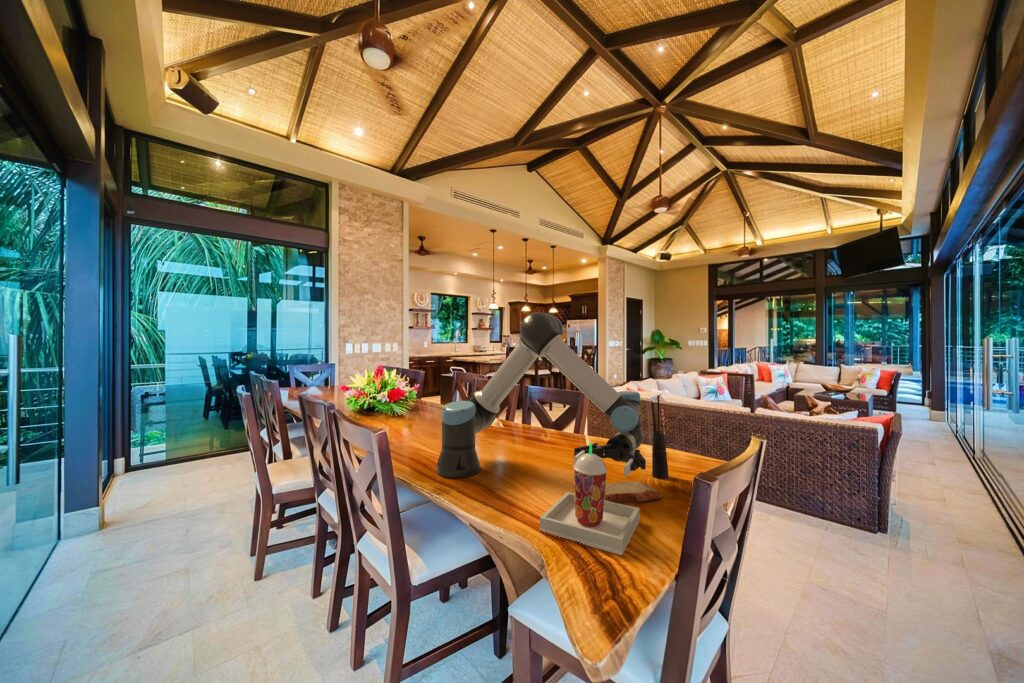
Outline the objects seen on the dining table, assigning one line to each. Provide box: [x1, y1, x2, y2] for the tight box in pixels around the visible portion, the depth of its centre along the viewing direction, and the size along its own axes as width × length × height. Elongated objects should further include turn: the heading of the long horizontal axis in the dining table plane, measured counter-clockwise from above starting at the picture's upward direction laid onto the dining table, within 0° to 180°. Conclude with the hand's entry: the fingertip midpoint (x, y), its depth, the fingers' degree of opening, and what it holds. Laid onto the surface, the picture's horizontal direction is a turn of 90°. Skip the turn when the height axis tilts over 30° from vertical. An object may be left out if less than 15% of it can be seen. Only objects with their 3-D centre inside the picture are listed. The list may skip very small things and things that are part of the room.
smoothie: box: [572, 442, 608, 527], centre depth 100 cm, size 8×8×20 cm
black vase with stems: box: [651, 394, 669, 480], centre depth 136 cm, size 9×10×28 cm
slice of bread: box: [604, 480, 663, 504], centre depth 118 cm, size 18×18×4 cm
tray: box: [539, 492, 641, 556], centre depth 100 cm, size 20×18×4 cm
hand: (599, 466), depth 105 cm, fingers open, 13 cm apart
